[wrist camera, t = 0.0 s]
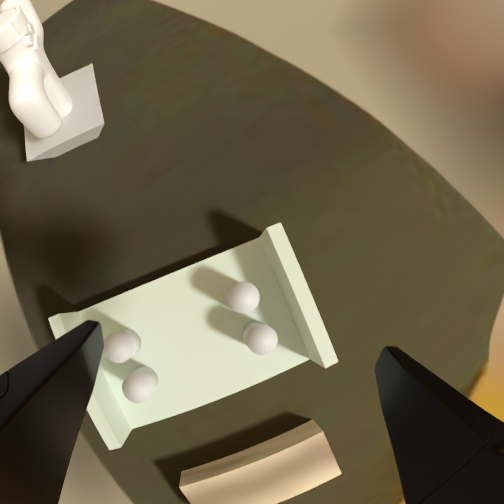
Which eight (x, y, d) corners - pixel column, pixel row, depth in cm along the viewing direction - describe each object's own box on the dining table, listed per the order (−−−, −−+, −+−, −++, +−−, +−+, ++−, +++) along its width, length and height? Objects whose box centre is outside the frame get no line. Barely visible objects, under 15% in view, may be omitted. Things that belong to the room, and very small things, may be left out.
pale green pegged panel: (317, 351, 24) (338, 361, 20) (124, 427, 22) (109, 450, 17) (268, 235, 25) (280, 222, 21) (73, 315, 22) (48, 318, 18)
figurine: (47, 187, 23) (-58, 103, 9) (38, 108, 24) (-32, 14, 9) (118, 154, 24) (50, 32, 10) (100, 78, 25) (55, -37, 10)
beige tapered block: (329, 458, 23) (341, 473, 21) (207, 507, 22) (208, 525, 19) (311, 418, 24) (322, 431, 21) (181, 469, 22) (178, 487, 19)
